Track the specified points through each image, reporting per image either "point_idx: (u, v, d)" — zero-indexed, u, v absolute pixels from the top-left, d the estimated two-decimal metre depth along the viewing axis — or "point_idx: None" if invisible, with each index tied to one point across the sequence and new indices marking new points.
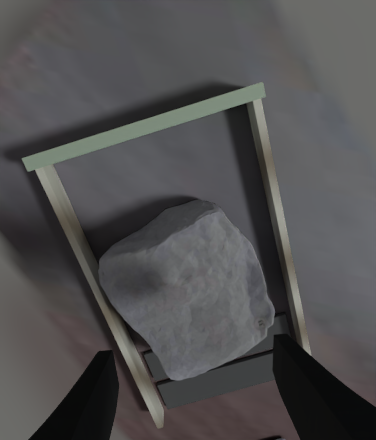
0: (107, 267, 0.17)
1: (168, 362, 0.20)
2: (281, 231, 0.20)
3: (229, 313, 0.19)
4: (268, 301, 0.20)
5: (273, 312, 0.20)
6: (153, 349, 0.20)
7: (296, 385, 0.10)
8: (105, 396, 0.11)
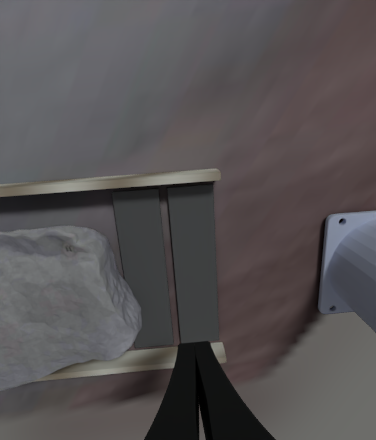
0: None
1: (96, 354, 0.18)
2: None
3: (39, 286, 0.16)
4: (40, 235, 0.16)
5: (55, 232, 0.16)
6: (81, 361, 0.18)
7: (202, 395, 0.10)
8: (196, 387, 0.11)
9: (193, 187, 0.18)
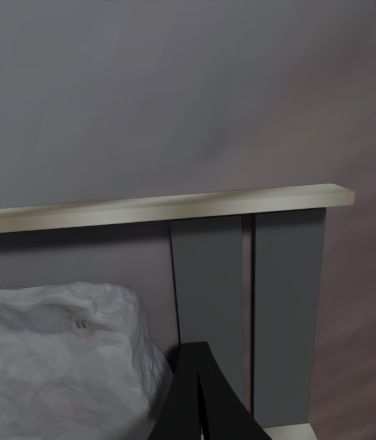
0: None
1: None
2: None
3: (31, 385, 0.10)
4: (34, 302, 0.10)
5: (58, 298, 0.09)
6: None
7: (200, 395, 0.10)
8: None
9: (296, 213, 0.12)
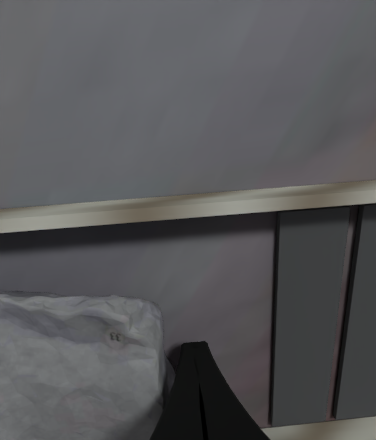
0: None
1: None
2: (72, 224, 0.10)
3: (59, 390, 0.10)
4: (73, 312, 0.10)
5: (98, 311, 0.10)
6: None
7: None
8: None
9: None
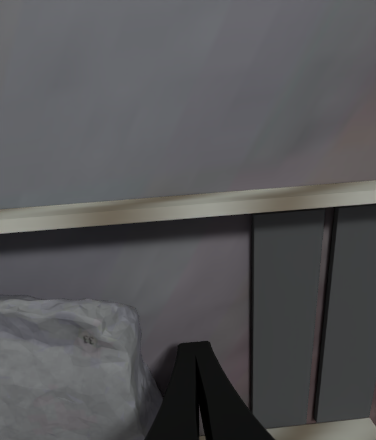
0: None
1: None
2: (40, 227, 0.10)
3: (33, 392, 0.10)
4: (47, 315, 0.10)
5: (71, 315, 0.10)
6: None
7: (202, 395, 0.10)
8: (196, 387, 0.11)
9: None
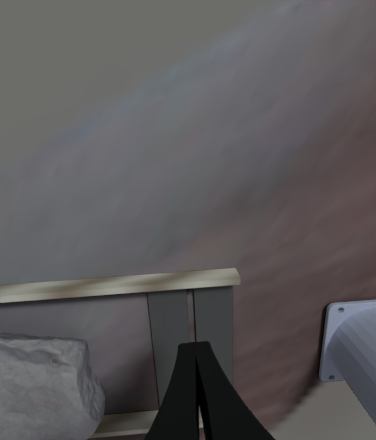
0: None
1: (63, 439, 0.22)
2: (29, 299, 0.20)
3: (25, 387, 0.20)
4: (33, 349, 0.20)
5: (45, 349, 0.20)
6: None
7: (202, 395, 0.10)
8: (196, 387, 0.11)
9: None
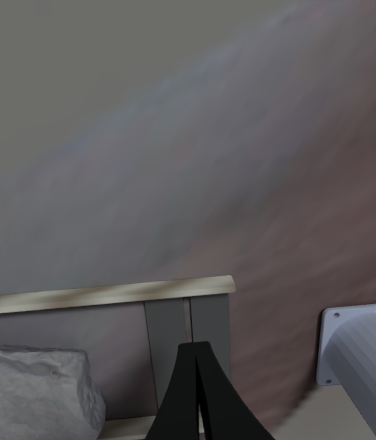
0: None
1: None
2: (27, 309, 0.20)
3: (27, 399, 0.21)
4: (33, 361, 0.21)
5: (45, 361, 0.20)
6: None
7: (202, 395, 0.10)
8: (196, 387, 0.11)
9: None
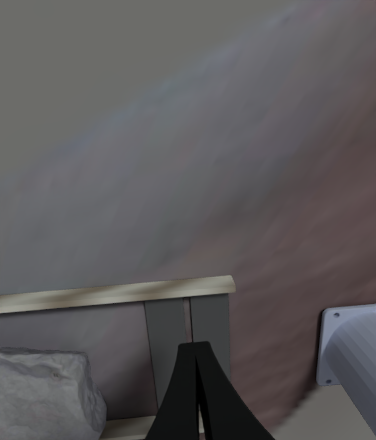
0: None
1: None
2: (27, 309, 0.20)
3: (28, 401, 0.21)
4: (34, 363, 0.21)
5: (47, 363, 0.21)
6: None
7: (202, 395, 0.10)
8: (196, 387, 0.11)
9: None
